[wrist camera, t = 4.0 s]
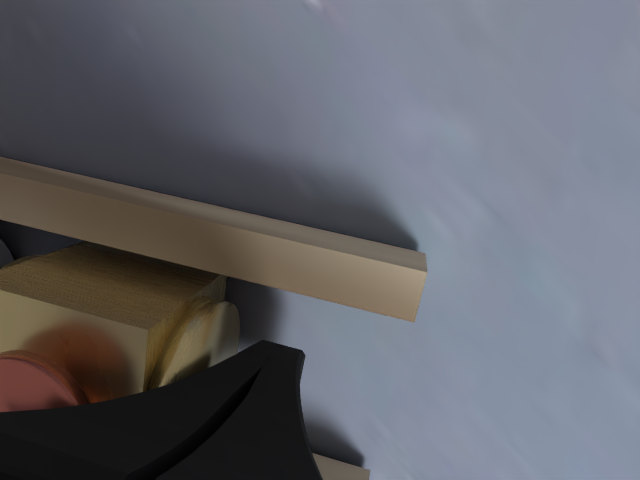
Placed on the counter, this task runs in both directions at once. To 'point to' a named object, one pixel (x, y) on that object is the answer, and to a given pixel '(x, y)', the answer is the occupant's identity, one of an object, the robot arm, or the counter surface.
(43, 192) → the guide rails
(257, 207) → the counter surface
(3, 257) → the coupling
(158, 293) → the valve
